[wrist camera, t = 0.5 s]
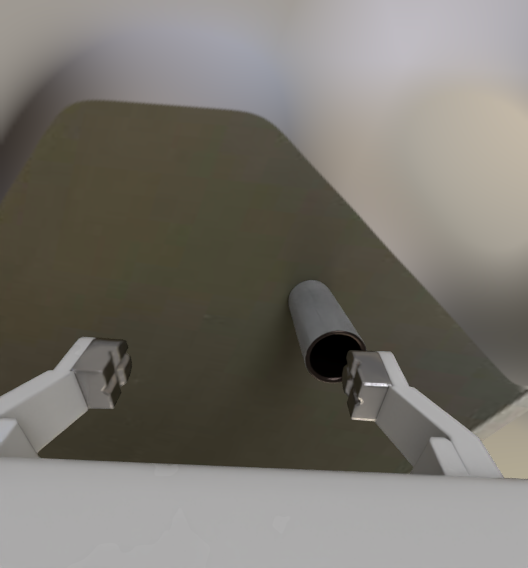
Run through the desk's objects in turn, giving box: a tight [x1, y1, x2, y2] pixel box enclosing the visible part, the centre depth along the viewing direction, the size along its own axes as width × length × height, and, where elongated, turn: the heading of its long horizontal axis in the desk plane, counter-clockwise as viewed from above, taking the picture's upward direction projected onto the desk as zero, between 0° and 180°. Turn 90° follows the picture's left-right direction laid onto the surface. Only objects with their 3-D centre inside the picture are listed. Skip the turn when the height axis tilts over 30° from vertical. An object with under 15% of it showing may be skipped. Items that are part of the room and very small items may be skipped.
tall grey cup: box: [288, 280, 367, 383], centre depth 26 cm, size 4×4×10 cm
